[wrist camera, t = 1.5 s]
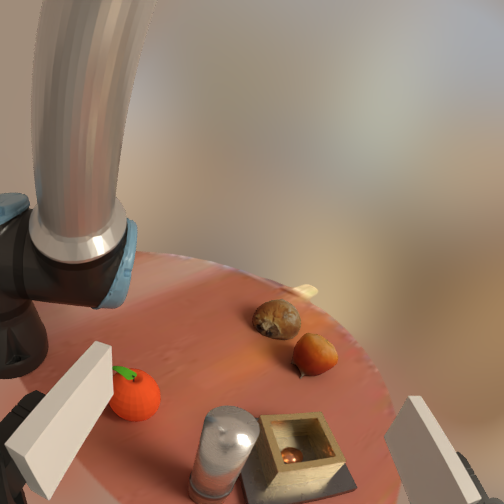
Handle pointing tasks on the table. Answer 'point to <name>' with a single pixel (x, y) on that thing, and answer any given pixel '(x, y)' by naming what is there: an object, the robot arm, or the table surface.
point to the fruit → (314, 355)
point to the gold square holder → (294, 462)
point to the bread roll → (277, 319)
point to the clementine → (134, 394)
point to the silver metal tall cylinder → (221, 453)
